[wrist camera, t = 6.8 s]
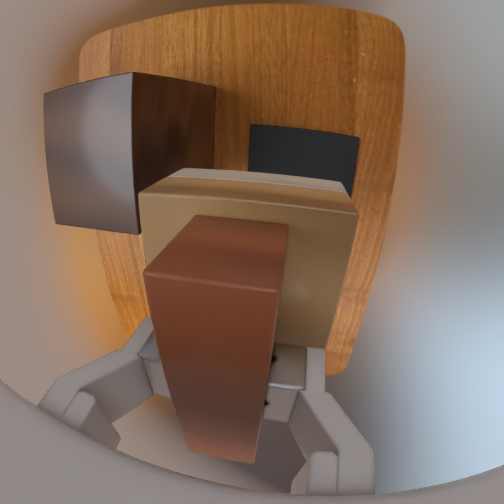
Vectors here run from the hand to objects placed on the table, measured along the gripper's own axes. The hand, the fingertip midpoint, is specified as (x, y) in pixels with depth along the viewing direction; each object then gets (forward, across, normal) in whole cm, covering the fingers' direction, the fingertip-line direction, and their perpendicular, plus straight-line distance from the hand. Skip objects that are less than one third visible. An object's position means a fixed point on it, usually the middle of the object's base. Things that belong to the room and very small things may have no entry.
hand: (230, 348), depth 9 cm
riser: (+24, +12, -4) cm, 27 cm away
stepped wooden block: (+4, 0, 0) cm, 4 cm away
